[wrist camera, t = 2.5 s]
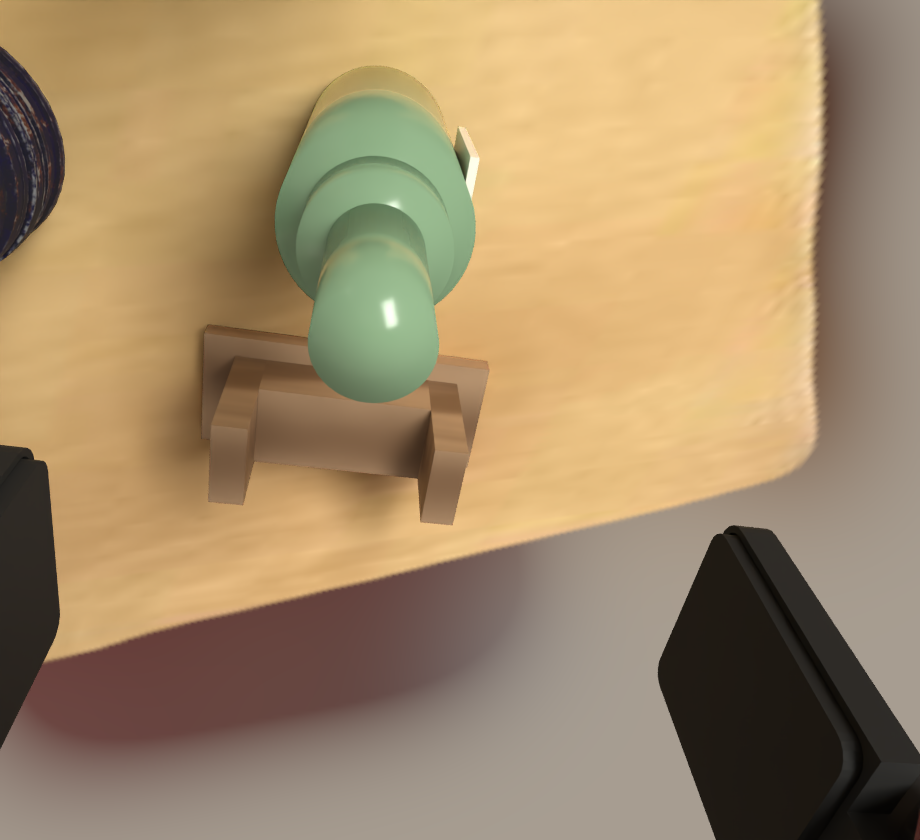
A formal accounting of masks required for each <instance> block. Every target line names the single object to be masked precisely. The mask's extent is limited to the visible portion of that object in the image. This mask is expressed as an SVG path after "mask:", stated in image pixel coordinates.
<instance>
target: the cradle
mask: <svg viewBox="0 0 920 840" xmlns="http://www.w3.org/2000/svg"><path fill="white" fill-rule="evenodd" d="M488 375H489V366H488V362H487V361H480V360H473V359H465V358H458V357H450V356H442V355H438V357H437V361H436V364H435V366H434V369H433V370H432V372H431V374H430V375H429V377H428V378H427V379H426V381H425V382H424V383H423V384H422V385H421V386H420V387H419V388H417V389H416V390H415V391H413V392H412V393H410V394H408V395H406V396H404V397H402V398H400V399H397V400H393V401H390V402H384V403H365V402H359V401H355V400H352V399H349V398H346V397H344V396H342V395H340V394H338V393H337V392H335V391H334V390H332V389H331V388H330V387H328V386H327V385H326V384H325V383H324V382H323V381H322V379H321V378H320V377H319V376H318V374H317V373H316V371H315V369H314V367H313V365H312V363H311V360H310V357H309V352H308V338H306V337H298V336H291V335H283V334H276V333H268V332H260V331H253V330H245V329H238V328H230V327H222V326H215V325H208V326H207V328H206V331H205V333H204V361H203V397H202V433H201V439H210V465H209V494H208V502H215V503H225V504H236V505H243V503H244V499H245V495H246V491H247V487H248V483H249V479H250V475H251V471H252V467H253V463H254V461H256V462H265V463H275V464H284V465H294V466H303V467H313V468H322V469H332V470H341V471H351V472H360V473H370V474H379V475H389V476H398V477H408V478H417V479H418V490H419V505H420V520H421V522H423V523H434V524H444V525H453V521H454V517H455V512H456V508H457V503H458V499H459V495H460V490H461V486H462V482H463V477H464V473H465V468H466V467H467V466H468V462H469V457H470V453H471V449H472V444H473V440H474V436H475V431H476V427H477V423H478V418H479V414H480V410H481V405H482V401H483V397H484V392H485V388H486V383H487V379H488Z"/></svg>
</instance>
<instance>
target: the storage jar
mask: <svg viewBox="0 0 920 840" xmlns="http://www.w3.org/2000/svg"><path fill="white" fill-rule="evenodd" d="M64 175H65V154H64V148H63V141H62V136H61V133H60V130H59V127H58V123H57V120H56V118H55V116H54V114H53V111H52V109H51V107H50V105H49V103H48V101H47V99H46V98H45V96H44V95H43V93H42V91H41V90H40V88H39V87H38V85H37V84H36V82H35V81H34V80H33V79H32V77H31V76H30V75H29V74H28V73H27V71H26V70H25V69H24V68H23V66H21V65H20V64H19V63H18V62H17V61H16V60H15V59H14V58H13V57H12V56H11V55H10V54H9V53H8V52H7V51H6V50H4V49H3V48H2V47H0V261H2V260H3V259H4V258H6V257H7V256H8V255H10V254H11V253H12V252H13V251H14V250H16V248H17V247H18V246H19V245H20V244H21V243H22V242H23V241H24V240H25V239H26V238H27V237H28V235H29V234H30V233H32V232H33V231H34V230H35V229H37V228H38V227H39V226H40V224H41V223H42V222H43V221H44V220H45V219H46V218H47V217H48V216H49V214H50V213H51V211H52V210H53V208H54V207H55V205H56V203H57V200H58V198H59V195H60V193H61V190H62V185H63V180H64Z"/></svg>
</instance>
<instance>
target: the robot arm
mask: <svg viewBox="0 0 920 840" xmlns="http://www.w3.org/2000/svg"><path fill="white" fill-rule="evenodd" d="M59 618H60V608H59V596H58V584H57V572H56V560H55V549H54V537H53V525H52V513H51V501H50V489H49V478H48V469H47V465H46V463H45V462H44V461H40V460H34V456H33V454H32V452H31V450H30V449H28V448H23V447H14V446H5V445H0V748H1V747H2V745H3V743H4V741H5V738H6V736H7V734H8V732H9V730H10V728H11V726H12V724H13V722H14V720H15V718H16V716H17V714H18V712H19V710H20V708H21V706H22V704H23V702H24V700H25V698H26V696H27V694H28V692H29V690H30V688H31V686H32V684H33V682H34V680H35V678H36V676H37V673H38V671H39V670H40V668H41V666H42V663H43V661H44V659H45V657H46V655H47V653H48V651H49V649H50V647H51V645H52V643H53V641H54V639H55V636H56V633H57V630H58V625H59ZM658 680H659V684H660V688H661V691H662V693H663V696H664V699H665V702H666V704H667V707H668V710H669V712H670V715H671V718H672V721H673V723H674V726H675V729H676V732H677V734H678V737H679V740H680V743H681V745H682V748H683V751H684V753H685V756H686V759H687V761H688V765H689V767H690V770H691V773H692V776H693V778H694V781H695V783H696V786H697V789H698V792H699V794H700V797H701V800H702V803H703V806H704V808H705V811H706V814H707V816H708V819H709V822H710V825H711V828H712V830H713V833H714V836H715V838H716V840H920V754H919V752H918V750H917V749H916V747H915V746H914V744H913V743H912V741H911V740H910V739H909V737H908V735H907V734H906V732H905V731H904V729H903V728H902V726H901V725H900V723H899V722H898V720H897V719H896V717H895V716H894V714H893V713H892V711H891V710H890V708H889V707H888V705H887V703H886V702H885V700H884V699H883V697H882V696H881V694H880V693H879V691H878V690H877V688H876V687H875V685H874V684H873V682H872V681H871V679H870V678H869V676H868V675H867V673H866V672H865V670H864V669H863V667H862V666H861V664H860V663H859V661H858V659H857V658H856V657H855V655H854V653H853V652H852V650H851V649H850V648H849V646H848V644H847V643H846V641H845V640H844V638H843V637H842V635H841V634H840V632H839V631H838V629H837V628H836V626H835V625H834V623H833V622H832V620H831V619H830V617H829V616H828V614H827V612H826V611H825V609H824V608H823V607H822V605H821V603H820V602H819V600H818V599H817V597H816V596H815V594H814V593H813V591H812V590H811V588H810V587H809V586H808V584H807V582H806V581H805V579H804V578H803V576H802V575H801V573H800V572H799V570H798V568H797V567H796V565H795V564H794V562H793V561H792V560H791V558H790V556H789V555H788V553H787V552H786V550H785V549H784V547H783V546H782V544H781V543H780V541H779V540H778V538H777V537H776V535H775V534H774V533H773V532H772V531H771V530H768V529H762V528H753V527H744V526H735V525H733V526H729V527H728V528H727V529H726V530H725V531H724V533H723V534H717V535H715V536H714V537H713V539H712V541H711V543H710V545H709V548H708V550H707V552H706V555H705V557H704V559H703V561H702V564H701V566H700V568H699V571H698V573H697V575H696V577H695V580H694V582H693V584H692V587H691V589H690V591H689V594H688V596H687V598H686V601H685V603H684V605H683V607H682V610H681V612H680V614H679V617H678V619H677V622H676V624H675V626H674V628H673V630H672V633H671V635H670V638H669V640H668V642H667V644H666V647H665V649H664V651H663V654H662V656H661V658H660V661H659V666H658Z"/></svg>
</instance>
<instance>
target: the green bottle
mask: <svg viewBox="0 0 920 840" xmlns="http://www.w3.org/2000/svg"><path fill="white" fill-rule="evenodd" d="M478 163H479V156H478V154H477V152H476V149H475V147H474V145H473V143H472V140H471V138H470V136H469V134H468V132H467V129H466V128H464V127H458V130H457V135H456V141H455V147H454V148H453V145H452V142H451V139H450V136H449V133H448V130H447V127H446V125H445V122H444V119H443V116H442V113H441V111H440V109H439V106H438V104H437V103H436V101H435V99H434V98H433V96H432V95H431V94H430V92H429V91H428V90H427V89H426V88H425V87H424V86H423V85H422V84H421V83H420V82H419V81H417V80H416V79H415V78H413V77H412V76H410V75H408V74H407V73H404V72H402V71H400V70H397V69H394V68H390V67H384V66H366V67H360V68H357V69H354V70H351V71H349V72H347V73H345V74H343V75H341V76H340V77H338V78H337V79H335V80H334V81H333V82H332V83H331V84H330V85H329V86H328V87H327V88H326V89H325V90H324V92H323V93H322V94H321V96H320V98H319V99H318V101H317V103H316V105H315V107H314V110H313V112H312V115H311V117H310V119H309V122H308V124H307V127H306V129H305V131H304V134H303V136H302V139H301V141H300V143H299V146H298V148H297V151H296V153H295V155H294V158H293V160H292V163H291V165H290V167H289V170H288V172H287V175H286V177H285V179H284V182H283V184H282V187H281V189H280V192H279V196H278V199H277V203H276V210H275V233H276V241H277V245H278V248H279V252H280V255H281V257H282V260H283V262H284V265H285V266H286V268H287V270H288V272H289V273H290V275H291V277H292V278H293V279H294V281H295V282H296V283H297V285H298V286H299V287H300V288H301V289H302V290H303V291H304V292H305V293H306V294H307V295H308V296H309V297H310V298H311V299H313V300H314V301H315V302H314V308H313V313H312V318H311V323H310V329H309V334H308V352H309V357H310V360H311V363H312V365H313V367H314V369H315V371H316V373H317V374H318V376H319V377H320V378H321V379H322V381H323V382H324V383H325V384H326V385H327V386H328V387H330V388H331V389H332V390H334V391H335V392H337V393H338V394H340V395H342V396H344V397H346V398H349V399H352V400H355V401H359V402H365V403H384V402H390V401H393V400H397V399H400V398H402V397H404V396H406V395H408V394H410V393H412V392H413V391H415V390H416V389H417V388H419V387H420V386H421V385H422V384H423V383H424V382H425V381H426V379H427V378H428V377H429V375H430V374H431V372H432V370H433V369H434V366H435V364H436V361H437V357H438V352H439V338H438V331H437V324H436V316H435V309H434V305H436V304H437V303H438V302H440V301H441V300H442V299H443V298H444V297H445V296H446V295H447V294H448V293H449V292H450V291H451V290H452V289H453V288H454V287H455V285H456V284H457V283H458V282H459V280H460V279H461V277H462V275H463V273H464V272H465V270H466V268H467V265H468V263H469V261H470V258H471V255H472V251H473V247H474V241H475V214H474V208H473V204H472V194H473V189H474V184H475V179H476V174H477V169H478Z"/></svg>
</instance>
